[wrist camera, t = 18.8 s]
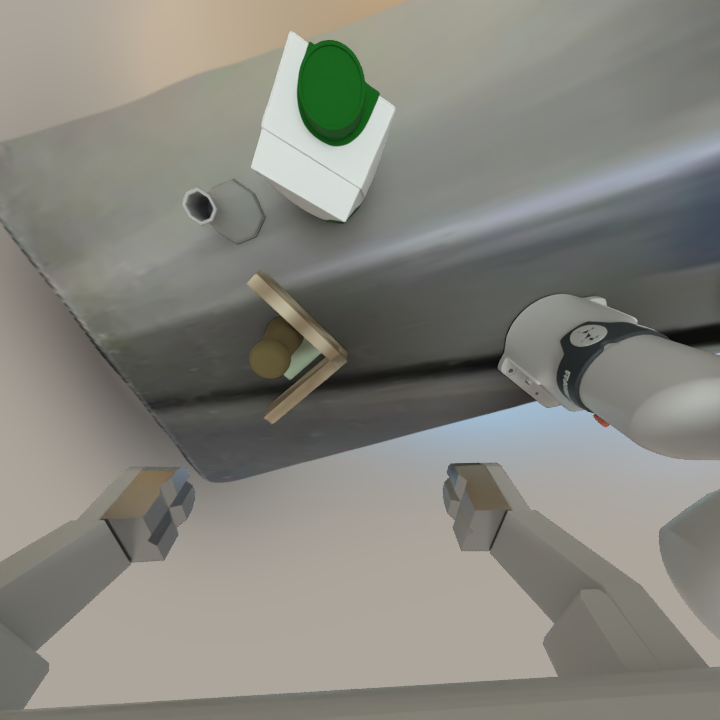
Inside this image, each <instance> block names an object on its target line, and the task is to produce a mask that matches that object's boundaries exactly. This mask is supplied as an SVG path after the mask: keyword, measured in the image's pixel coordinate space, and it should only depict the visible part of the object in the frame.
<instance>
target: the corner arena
mask: <svg viewBox="0 0 720 720" xmlns="http://www.w3.org/2000/svg"><path fill="white" fill-rule="evenodd" d="M247 284H248V285H249V286H250V287H251V288H252V289H253V290H254V291H255V292H256V293H257V294H258V295H259V296H260V297H262V298H263V299H264V300H265V301H266V302H267V303H268V304H269V305H270V306H271V307H272V308H273V309H274V310H276V311H277V312H278V313H279V314H280V315H281V316H282V317H283V318H284V319H285V320H286V321H287V322H288V323H290V324H291V325H292V326H293V327H294V328H295V329H296V330H297V331H298V332H299V333H300V334H301V335H303V336H304V339H303V342H302V344H301V345H300V346H299V348H298V349H297V350H296V351H295V352H294V354H293V355H292V356H291V363H290V367H289V369H288V370H287V371H286V373H284V374H283V375H284V376H286V377H287V378H288V379H289V380H291V379H292V378H293V377H295V376H296V375H297V374H298V373H299V372H300V371H301V370H302V369H304V368H305V367H306V366H307V365H308V364H309V363H310V362H312V361H313V360H314V359H315V358H316V357H317V356H318V355H319V354H321V353H322V354H323V355H324V356H325V357H324V358H323V359H322V360H321V361H320V362H319V363H317V364H316V365H315V366H314V367H313V368H312V369H310V370H309V371H308V372H307V373H306V374H305V375H304V376H302V377H301V378H300V379H299V380H298V381H297V382H296V383H294V384H293V385H292V386H291V387H290V388H289V389H288V390H286V391H285V392H284V393H283V394H282V395H281V396H279V397H278V398H277V399H276V400H275V401H274V402H273V403H271V404H270V405H269V407H268V409H267V411H266V413H265V416H264V418H265V419H266V420H268V421H269V422H270V423H272V424H274V423H275V422H276V421H277V420H278V419H280V418H281V417H282V416H283V415H284V414H286V413H287V412H288V411H289V410H290V409H291V408H293V407H294V406H295V405H296V404H297V403H299V402H300V401H301V400H302V399H303V398H305V397H306V396H307V395H308V394H309V393H311V392H312V391H313V390H314V389H315V388H317V387H318V386H319V385H320V384H321V383H323V382H324V381H325V380H326V379H327V378H328V377H330V376H331V375H332V374H333V373H334V372H336V371H337V370H338V369H339V368H340V367H342V366H343V365H344V364H345V363H346V362H348V352H347V351H346V350H345V349H344V348H343V347H342V346H341V345H340V344H339V343H338V342H337V341H336V340H335V339H334V338H333V337H332V336H331V335H329V334H328V333H327V332H326V331H325V330H324V329H323V328H322V327H321V326H320V325H319V324H318V323H317V322H316V321H315V320H314V319H313V318H312V317H311V316H310V315H309V314H308V313H307V312H306V311H305V310H304V309H303V308H302V307H301V306H300V305H299V304H298V303H297V302H296V301H295V300H294V299H293V298H292V297H291V296H290V295H289V294H288V293H287V292H285V291H284V290H283V289H282V288H281V287H280V286H279V285H278V284H277V283H276V282H275V281H274V280H273V279H272V278H271V277H270V276H269V275H268V274H267V273H266V272H265V271H264V270H262V271H260V272H258V273H256V274H255V275H254V276H253V277H252V278H251V279H250V280H249V281H248V283H247Z"/></svg>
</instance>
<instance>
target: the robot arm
mask: <svg viewBox="0 0 720 720" xmlns="http://www.w3.org/2000/svg"><path fill="white" fill-rule="evenodd" d="M509 369H511V370H510V371H509ZM498 370H499V371H500V372H502V373H503V374H504V375H505V376H507V377H508V378H509V379H510V380H512V381H513V382H514V383H515V384H517V385H518V386H519V387H520V388H522V389H523V390H524V391H525V392H527V393H528V394H529V395H530V396H532V397H533V398H534V399H535V400H536V401H538V402H539V403H540V404H542V405H543V406H545V407H547V408H550V407H555V406H559V405H562V406H563V407H565V408H566V409H567V410H569V411H580V410H586V411H588V412H591V413H595V414H594V418H595V419H596V420H597V421H598V422H599V423H600V424H601V425H603V426H605V427H607V426H609V425H611V426H613V427H614V428H616V429H617V430H618V431H620V432H621V433H622V434H624V435H625V436H627V437H628V438H629V439H631V440H632V441H633V442H635V443H636V444H638V445H639V446H641V447H643V448H645V449H647V450H650V451H652V452H655V453H657V454H660V455H664V456H667V457H671V458H677V459H685V460H720V356H719V355H716V354H713V353H709V352H706V351H703V350H699V349H696V348H693V347H689V346H686V345H683V344H680V343H677V342H674V341H670V339H669V338H668V337H666V336H665V335H663V334H661V333H659V332H657V331H655V330H653V329H651V328H648V327H645V326H641V325H638V324H637V319H636V318H634V317H632V316H630V315H627V314H625V313H623V312H620V311H618V310H615V309H613V308H610V307H607V303H606V300H605V299H604V298H601V297H599V296H591V297H585V298H580V297H576V296H573V295H568V294H556V295H551V296H548V297H545V298H542V299H540V300H538V301H536V302H534V303H533V304H531V305H530V306H529V307H527V308H526V309H525V310H524V311H523V312H522V313H521V314H520V315H519V316H518V317H517V318H516V320H515V321H514V322H513V324H512V326H511V327H510V329H509V332H508V334H507V338H506V343H505V351H504V354H503V356H502V357H501V359H500V361H499V364H498ZM447 474H448V476H449V478H448V479H447V480H446V481H445V482H444V487H443V499H444V504H445V507H446V510H447V513H448V514H449V515H450V516H451V517H452V518H453V519H454V520H455V522H454V526H453V530H454V532H455V535H456V538H457V541H458V543H459V546H460V549H461V551H490V554H491V555H492V556H493V557H494V558H495V559H496V560H497V561H498V562H499V563H500V565H501V566H502V567H503V568H504V569H505V570H506V571H507V572H508V573H509V574H510V575H511V576H512V578H513V579H514V580H515V581H516V582H517V583H518V584H519V585H520V586H521V587H522V589H523V590H524V591H525V592H526V593H527V594H528V595H529V596H530V597H531V598H532V600H533V601H534V602H535V603H536V604H537V605H538V606H539V607H540V608H541V609H542V610H543V612H544V613H545V614H546V615H547V616H548V617H549V618H550V619H551V620H552V621H553V622H554V626H553V627H552V628H551V630H550V631H549V632H548V633H547V635H546V636H545V638H544V642H543V645H544V647H545V649H546V651H547V654H548V656H549V658H550V660H551V662H552V664H553V666H554V668H555V670H556V673H557V675H558V677H547V678H530V679H513V680H499V681H498V680H497V681H481V682H464V683H448V684H433V685H416V686H400V687H384V688H367V689H351V690H334V691H318V692H302V693H287V694H270V695H253V696H237V697H221V698H204V699H188V700H172V701H155V702H142V703H141V702H140V703H124V704H107V705H90V706H76V707H58V708H42V709H26V710H23V709H24V707H25V706H26V704H27V703H28V701H29V700H30V698H31V697H32V695H33V694H34V692H35V691H36V689H37V688H38V686H39V685H40V683H41V682H42V680H43V679H44V677H45V676H46V674H47V673H48V671H49V663H48V662H47V661H46V660H44V659H43V658H42V657H41V656H40V655H39V654H37V653H36V651H37V650H38V649H39V648H40V647H41V646H42V645H43V644H44V643H46V642H47V641H48V640H49V639H50V638H51V637H52V636H53V635H54V634H55V633H57V631H59V630H60V629H61V628H62V627H63V626H64V625H65V624H66V623H67V622H69V621H70V620H71V619H72V618H73V617H74V616H75V615H76V614H77V613H78V612H80V610H82V609H83V608H84V607H85V606H86V605H87V604H88V603H89V602H90V601H92V600H93V599H94V598H95V597H96V596H97V595H98V594H99V593H100V592H101V591H102V590H104V589H105V588H106V587H107V586H108V585H109V584H110V583H111V582H112V581H113V580H115V579H116V578H117V577H118V576H119V575H120V574H121V573H122V572H123V571H124V570H125V569H127V567H128V566H130V565H131V563H132V562H148V561H164V560H165V558H166V556H167V554H168V553H169V551H170V549H171V547H172V545H173V544H174V542H175V540H176V538H177V537H178V531H177V527H178V526H179V525H181V524H182V523H183V522H184V521H186V520H187V518H188V516H189V514H190V513H191V511H192V508H193V504H194V501H195V491H194V488H193V486H192V485H191V484H190V483H188V482H187V481H186V480H187V479H188V477H189V473H188V471H187V469H186V468H184V467H129V468H127V469H125V470H123V471H122V472H121V473H120V475H119V476H118V477H117V478H116V479H115V480H114V481H113V482H112V483H111V484H110V485H109V486H108V487H107V488H106V489H105V490H104V492H103V493H102V494H101V495H100V496H99V497H98V498H97V499H96V500H95V501H94V502H93V503H92V504H91V505H90V506H89V508H88V509H87V510H86V511H85V512H84V513H83V514H82V515H81V516H80V517H79V518H78V519H77V520H76V521H69V522H67V523H66V524H64V525H62V526H60V527H59V528H57V529H55V530H54V531H52V532H50V533H49V534H47V535H46V536H44V537H42V538H40V539H39V540H37V541H35V542H33V543H32V544H30V545H28V546H27V547H25V548H23V549H22V550H20V551H18V552H16V553H15V554H13V555H11V556H10V557H8V558H7V559H5V560H3V561H1V562H0V720H720V667H709V666H708V665H707V664H706V663H705V662H704V660H703V659H702V658H701V657H700V656H699V654H698V653H697V652H696V651H695V650H694V648H693V647H692V646H691V645H690V644H689V642H688V641H687V640H686V639H685V638H684V636H683V635H682V634H681V633H680V632H679V630H678V629H677V628H676V627H675V626H674V624H673V623H672V622H671V621H670V620H669V618H668V617H667V616H666V615H665V614H664V612H663V611H662V610H661V609H660V608H659V606H658V605H657V604H656V603H655V602H654V600H653V599H652V598H651V597H650V596H649V594H648V593H647V592H646V591H645V590H644V588H643V587H642V586H641V585H640V584H638V583H637V582H635V581H634V580H633V579H631V578H630V577H629V576H627V575H626V574H624V573H623V572H622V571H620V570H619V569H617V568H616V567H615V566H613V565H612V564H610V563H609V562H608V561H606V560H605V559H603V558H602V557H600V556H599V555H598V554H596V553H595V552H593V551H592V550H591V549H589V548H588V547H587V546H585V545H584V544H582V543H581V542H580V541H578V540H577V539H575V538H574V537H573V536H571V535H570V534H568V533H567V532H566V531H564V530H563V529H562V528H560V527H559V526H557V525H556V524H554V523H553V522H552V521H550V520H549V519H547V518H546V517H545V516H543V515H542V514H541V513H539V512H538V511H536V510H531V509H530V508H529V506H528V505H527V503H526V502H525V500H524V499H523V498H522V496H521V495H520V493H519V492H518V490H517V489H516V487H515V486H514V484H513V483H512V481H511V480H510V478H509V477H508V475H507V474H506V472H505V471H504V470H503V468H502V466H501V465H500V464H498V463H456V464H450V465H449V466H448V470H447ZM659 545H660V552H661V556H662V560H663V563H664V565H665V568H666V570H667V573H668V575H669V577H670V579H671V581H672V583H673V584H674V586H675V588H676V589H677V591H678V593H679V594H680V596H681V597H682V599H683V600H684V601H685V603H686V604H687V605H688V607H689V608H690V609H691V610H692V611H693V613H694V614H695V615H696V616H697V617H698V619H699V620H700V621H701V622H702V623H703V624H704V625H705V626H706V627H707V628H708V629H709V630H710V631H711V632H712V633H713V634H714V635H715V636H716V637H717V638H718V639H719V640H720V489H719V490H717V491H714V492H712V493H709V494H707V495H706V496H704V497H703V498H702V499H700V500H698V501H697V502H696V503H694V504H693V505H691V506H690V507H688V508H687V509H685V510H684V511H683V512H682V513H680V514H679V515H678V516H677V517H675V518H674V519H672V520H671V521H670V522H669V523H668V524H666V525H665V526H663V527H662V528H661V529H660V531H659Z"/></svg>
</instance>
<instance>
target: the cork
mask: <svg viewBox="0 0 720 720" xmlns="http://www.w3.org/2000/svg"><path fill="white" fill-rule="evenodd" d="M303 339H304V336H303V335H301V334H300V333H299V332H298V331H297V330H296V329H295V328H294V327H293V326H292V325H291V324H290V323H288V322H287V321H286V320H285V319H284V318H283V317H282V316H280V317H276V318H274V319H273V320H271V321H270V322H269V324H268V325H267V328H266V330H265V333H264V336H263V338H262V341H260V342H258V343H257V344H255V345H254V347H253V348H252V350H251V351H250V355H249V362H250V365H251V367H252V369H253V370H254V371H255V372H256V373H257V374H258V375H260V376H261V377H264V378H277V377H280V376H281V375H283V374H284V373H286V371H287V370H288V369H289V367H290V363H291V356H292V355H293V354H294V352H295V351H296V350H297V349H298V348H299V346H300V345H301V344H302V342H303Z"/></svg>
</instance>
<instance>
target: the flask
mask: <svg viewBox="0 0 720 720" xmlns="http://www.w3.org/2000/svg"><path fill="white" fill-rule="evenodd" d="M181 205H182V207H183V208H184V210H185V212H186V214H187V215H188V217H189V218H190V219H192V220H193V221H195V222H196V223H198V224H200V225H201V226H203V225H205V224H208V223H210V224H211V225H212V226H213V227H214V228H215V230H216V231H217V232H219V233H220V234H222V235H223V236H225V237H227V238H228V239H230V240H231V241H233V242H235V243H236V244H240V243H243V242H245V241H248V240H250V239H252V238H255V237H256V236H257V234H258V232H259V230H260V228H261V226H262V223H263V221H264V219H265V216H264V213H263V211H262V209H261V207H260V205H259V202H258V200H257V198H256V196H255V194H254V193H253V192H251V191H250V190H249V189H247V188H246V187H244V186H243V185H241V184H240V183H239V182H237V181H236V180H234V179H232V180H230V181H227V182H225V183H223V184H220V185H218V186H216V187H214V188H212V189H211V191H210V192H209V193H206V192H205V191H203V190H202V189H200V188H199V187H195V188H193V189H191V190H188V191H186V192H185V194H184V197H183V200H182V203H181Z"/></svg>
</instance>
